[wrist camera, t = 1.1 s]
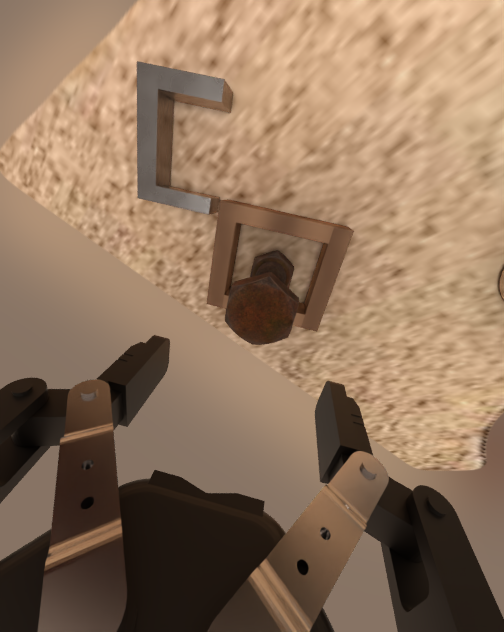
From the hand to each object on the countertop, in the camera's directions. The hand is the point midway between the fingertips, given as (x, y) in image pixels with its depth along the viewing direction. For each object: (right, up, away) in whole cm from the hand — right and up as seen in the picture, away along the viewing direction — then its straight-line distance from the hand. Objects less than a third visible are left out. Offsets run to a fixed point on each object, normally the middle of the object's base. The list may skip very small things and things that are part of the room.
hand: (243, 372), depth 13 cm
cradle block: (-6, +21, +15) cm, 27 cm away
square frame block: (+3, +9, +19) cm, 22 cm away
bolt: (+3, +9, +20) cm, 22 cm away
